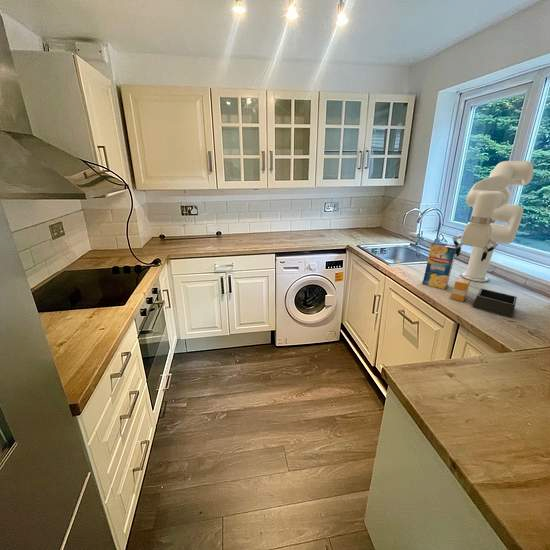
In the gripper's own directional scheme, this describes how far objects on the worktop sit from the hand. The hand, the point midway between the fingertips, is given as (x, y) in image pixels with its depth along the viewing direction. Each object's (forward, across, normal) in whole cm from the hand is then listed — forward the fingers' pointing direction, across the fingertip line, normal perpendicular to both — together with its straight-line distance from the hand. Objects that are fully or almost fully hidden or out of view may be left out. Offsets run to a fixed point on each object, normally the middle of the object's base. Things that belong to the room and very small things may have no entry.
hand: (469, 258), depth 131 cm
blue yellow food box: (+20, +13, -11) cm, 26 cm away
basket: (+20, -14, 0) cm, 25 cm away
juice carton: (+20, 0, 0) cm, 20 cm away
